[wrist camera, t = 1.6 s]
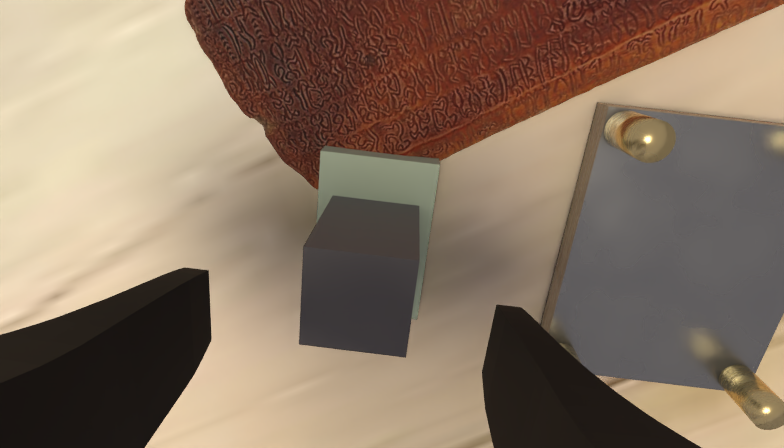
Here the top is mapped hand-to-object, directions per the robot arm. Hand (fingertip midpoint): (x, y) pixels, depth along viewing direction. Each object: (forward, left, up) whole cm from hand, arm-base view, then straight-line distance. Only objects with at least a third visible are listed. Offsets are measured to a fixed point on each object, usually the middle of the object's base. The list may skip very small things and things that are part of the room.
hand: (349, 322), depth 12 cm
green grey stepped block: (0, 0, -7) cm, 7 cm away
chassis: (0, -11, -6) cm, 13 cm away
